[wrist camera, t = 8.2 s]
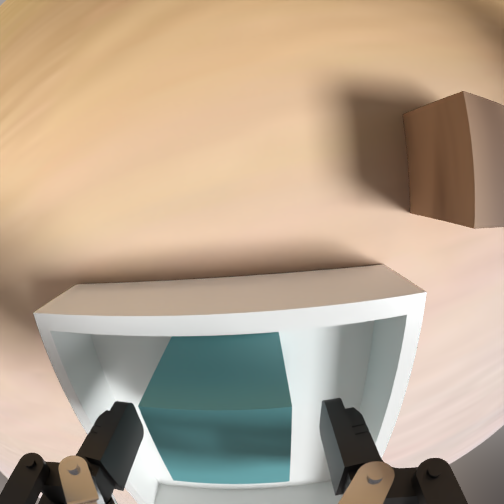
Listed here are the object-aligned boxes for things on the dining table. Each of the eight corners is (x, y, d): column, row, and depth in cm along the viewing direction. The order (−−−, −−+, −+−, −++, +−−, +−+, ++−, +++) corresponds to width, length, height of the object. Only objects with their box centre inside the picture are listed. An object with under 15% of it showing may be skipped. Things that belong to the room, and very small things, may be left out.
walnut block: (468, 126, 11) (529, 116, 6) (474, 211, 12) (535, 225, 8) (401, 114, 11) (463, 90, 7) (409, 212, 13) (474, 228, 8)
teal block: (278, 332, 13) (292, 406, 8) (280, 408, 14) (289, 481, 9) (171, 336, 13) (137, 406, 8) (190, 410, 14) (173, 480, 9)
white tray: (384, 264, 13) (426, 292, 9) (346, 472, 17) (357, 507, 13) (76, 284, 13) (33, 312, 9) (155, 478, 17) (146, 512, 13)
